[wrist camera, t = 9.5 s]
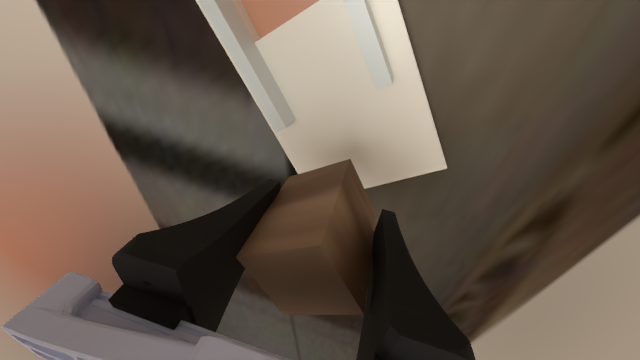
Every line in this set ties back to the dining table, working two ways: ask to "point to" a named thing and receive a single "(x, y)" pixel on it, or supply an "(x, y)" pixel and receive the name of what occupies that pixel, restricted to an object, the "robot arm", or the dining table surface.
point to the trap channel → (333, 82)
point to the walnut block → (315, 243)
